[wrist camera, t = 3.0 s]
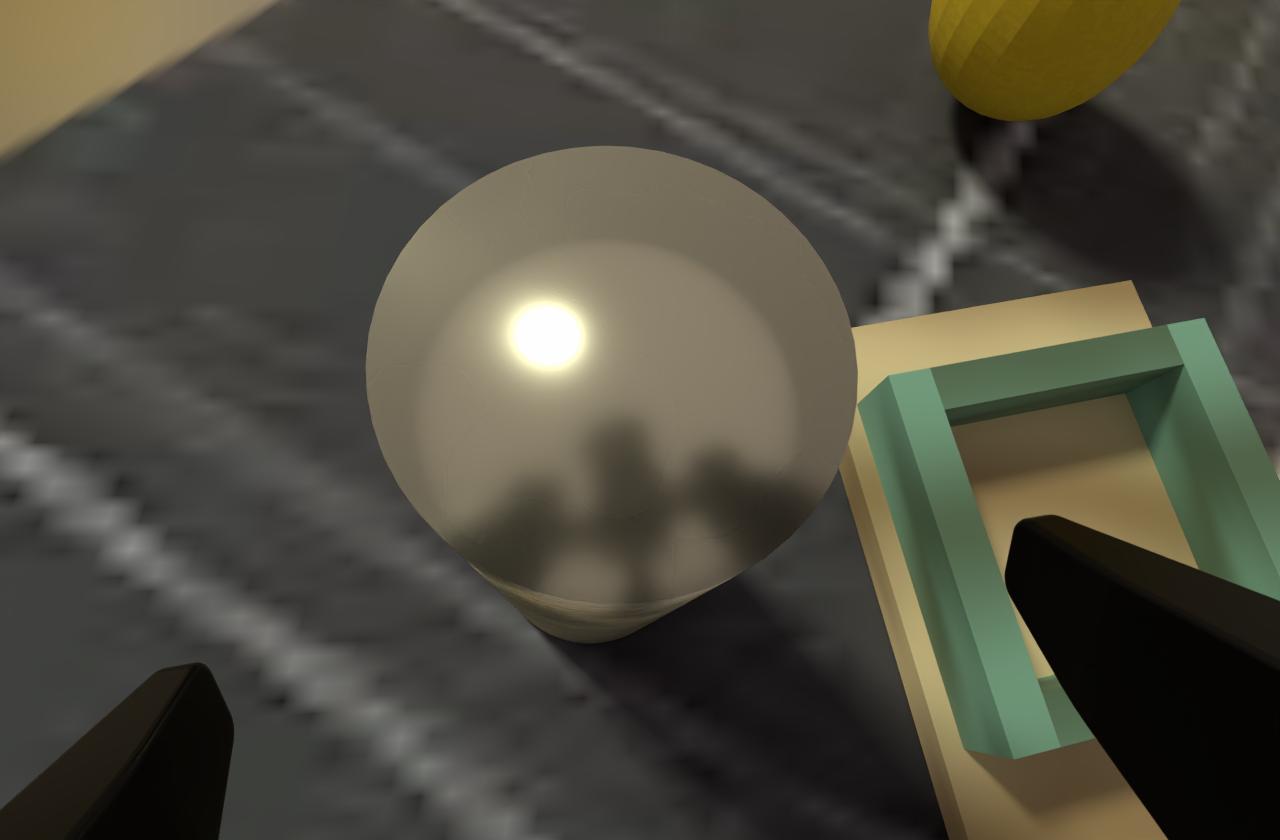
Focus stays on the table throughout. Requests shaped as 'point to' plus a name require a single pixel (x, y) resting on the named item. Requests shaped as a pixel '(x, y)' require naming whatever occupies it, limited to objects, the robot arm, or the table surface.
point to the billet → (610, 383)
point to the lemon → (1039, 50)
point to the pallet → (1028, 487)
